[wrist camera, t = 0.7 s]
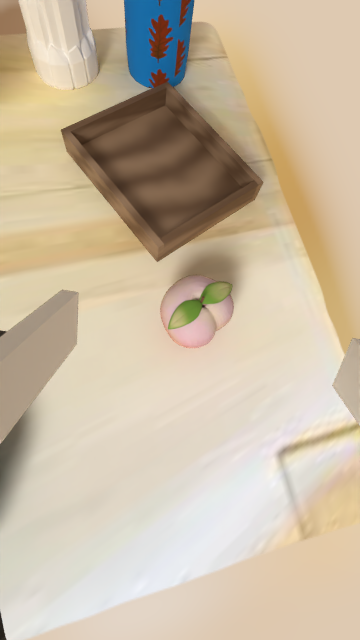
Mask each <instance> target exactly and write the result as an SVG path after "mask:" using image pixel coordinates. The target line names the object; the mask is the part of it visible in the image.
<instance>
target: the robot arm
mask: <svg viewBox="0 0 360 640" xmlns="http://www.w3.org/2000/svg"><path fill="white" fill-rule="evenodd" d="M77 324H78V292H73V291H67V290H61V291H60V292H58V293H57V294H56V295H55V296H53V297H52V298H51V299H49V300H48V301H47V302H45V303H44V304H43V305H41V306H40V307H39V308H37V309H36V310H35V311H34V312H32V313H31V314H30V315H28V316H27V317H26V318H24V319H23V320H22V321H20V322H19V323H18V324H16V325H15V326H14V327H13V328H11V329H10V330H9V331H7V332H6V331H0V444H1V443H2V441H3V440H4V439H5V437H6V436H7V435H8V433H9V432H10V431H11V430H12V428H13V427H14V426H15V424H16V423H17V422H18V420H19V419H20V418H21V416H22V415H23V414H24V412H25V411H26V410H27V409H28V407H29V406H30V405H31V403H32V402H33V401H34V399H35V398H36V397H37V395H38V394H39V393H40V392H41V390H42V389H43V388H44V386H45V385H46V384H47V382H48V381H49V380H50V378H51V377H52V376H53V375H54V373H55V372H56V371H57V369H58V368H59V367H60V365H61V364H62V363H63V361H64V360H65V359H66V358H67V356H68V355H69V354H70V352H71V351H72V350H73V348H74V347H75V346H76V344H77ZM332 386H333V388H334V389H335V391H336V392H337V393H338V395H339V396H340V398H341V399H342V401H343V402H344V404H345V405H346V407H347V408H348V410H349V411H350V413H351V414H352V415H353V417H354V418H355V420H356V421H357V423H358V424H359V426H360V339H355V338H352V340H351V343H350V345H349V347H348V350H347V352H346V354H345V357H344V359H343V362H342V364H341V366H340V369H339V371H338V373H337V376H336V378H335V380H334V383H333V385H332ZM0 640H6V637H5V633H4V628H3V623H2V618H1V613H0Z"/></svg>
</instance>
